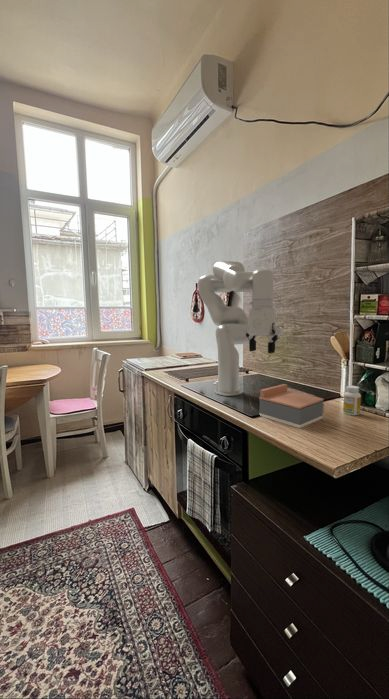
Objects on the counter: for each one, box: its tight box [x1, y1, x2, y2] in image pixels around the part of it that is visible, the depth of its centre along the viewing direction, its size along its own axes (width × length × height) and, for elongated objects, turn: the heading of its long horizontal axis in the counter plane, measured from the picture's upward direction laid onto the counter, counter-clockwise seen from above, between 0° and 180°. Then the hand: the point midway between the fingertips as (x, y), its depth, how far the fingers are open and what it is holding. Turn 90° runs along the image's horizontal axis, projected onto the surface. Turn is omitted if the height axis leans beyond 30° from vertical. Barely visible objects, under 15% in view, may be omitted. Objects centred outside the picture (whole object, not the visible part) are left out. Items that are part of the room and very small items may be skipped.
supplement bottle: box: [342, 385, 362, 416], centre depth 111 cm, size 5×5×10 cm
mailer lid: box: [258, 383, 325, 409], centre depth 107 cm, size 16×15×3 cm
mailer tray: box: [258, 399, 324, 429], centre depth 108 cm, size 16×14×6 cm
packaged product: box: [287, 386, 324, 407], centre depth 127 cm, size 18×5×10 cm
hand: (261, 351), depth 116 cm, fingers open, 8 cm apart
